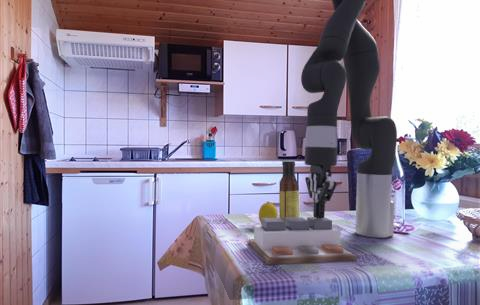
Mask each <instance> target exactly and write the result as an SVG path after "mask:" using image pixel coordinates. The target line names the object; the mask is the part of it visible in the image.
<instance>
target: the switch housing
mask: <svg viewBox="0 0 480 305" xmlns="http://www.w3.org/2000/svg"><path fill="white" fill-rule="evenodd" d="M341 231H342V230H340V229H338V228H336V227H333V226H332V229H329V230H313V229H311V228H310V227H309V230H289V229H287V228H286V227H285V231H265V230H264V229H263V228H261V224H254V225H253V239H254V242H255V243H256V244H257V245H258V246H259V247H260V249H261V250H262V251H268V250H272V247H275V246H288V247H290V248H291V249H292V250H294V249H297V246H303V245H313V246H315V247H316V248H317V249H320V248H322V245H331V244H337V245H339V246H341V236H342V235H341V234H342V233H341Z"/></svg>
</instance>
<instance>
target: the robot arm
mask: <svg viewBox="0 0 480 305" xmlns="http://www.w3.org/2000/svg"><path fill="white" fill-rule="evenodd" d="M367 1H368V0H331V2H332V6H333V10H334V12H333V13H332V14H331V15H330V17H329V18H328V19H327V21H326V23H325V24H324V26H323V30H322V32H321V35H320V39H319V41H318V45H317V47H316V48H315V49H314V51H313V52H312V54H311V56H310V57H309V58H308V59H307V61H306V63H305V65H304V66H303V69H302V72H301V77H300V78H301V79H300V81H301V86H302V87H303V89H304V91H306V92H307V93H309V94H317V93H323V94H322V96H321V97H320V99H318V100H315V101H313V102H311V103H309V105H307V112H306V113H307V115H306V131H305V138H304V139H305V142H304V164H305V165H306V166H310V168H309V169H310V170H309V173H308V174H309V176H306V177H305V179H304V180H305V184H306V188H307V192H308V196H309V198H310V199H312V202H313V212H312V213H313V216H312V217H315V218H324V217H325V211H326V209H325V208H326V203H327V202H330V201H331V199H332V197H333V195H334V192H335V190H336V188H337V184H338V183H337V182H338V181H336V180H333V179H332V173H333V172H332V167H335V166H337V164H338V140H339V139H338V137H339V136H338V128H337V127H338V111H339V110H338V109H339V106H340V102H341V99H342V95H343V92H344V89H345V85H346V84H347V91H348V99H349V109H350V110H349V111H350V128H351V129H350V130H351V137H352V140H353V143H354V145H355V146H356V147H357V148H358V149H360V150H368V151H369V150H371V153H370V156H369V157H368V158H367V159H365V160H363V161H360V162H358V163H357V167H356V168H357V173H356V203H355V233H356V234H358V235H359V236H363V237H367V238H375V239H377V238H381V239H383V238H384V239H385V238H389V237H394V229H395V228H394V226H395V225H394V224H395V222H394V220H395V202H394V201H393V200H392V184H393V183H392V179H393V168H394V165H395V162H396V150H397V138H398V131H397V126H396V123H395V121H394V120H393V119H392V118H391V117H389V116H372V112H371V96H372V94H373V90H374V87H375V85H376V83H377V81H378V77H379V74H380V71H381V70H380V69H381V64H380V63H381V62H380V57H379V56H380V55H379V49H378V45H377V42H376V40H375V39H374V37H373V36H372V35H371V33H370V32H369V31H368V30H367V29H366V28H365V27H364V26H363V24H362V23H361V22H360V21H359V20H358V18H359V16H360V15H361V12H362V11H363V9H364V7H365V4H366V2H367ZM342 60H343V62H341V61H342Z"/></svg>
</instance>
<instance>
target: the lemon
mask: <svg viewBox="0 0 480 305" xmlns="http://www.w3.org/2000/svg"><path fill="white" fill-rule="evenodd" d="M262 218H279V217H278V209H277V207H276V205H275V204H274V203H271V202H270V201H266V202H265V203H263V204H262V205H261V206H260V208H259V211H258V220H259V222H260V223H261V221H262Z"/></svg>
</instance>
